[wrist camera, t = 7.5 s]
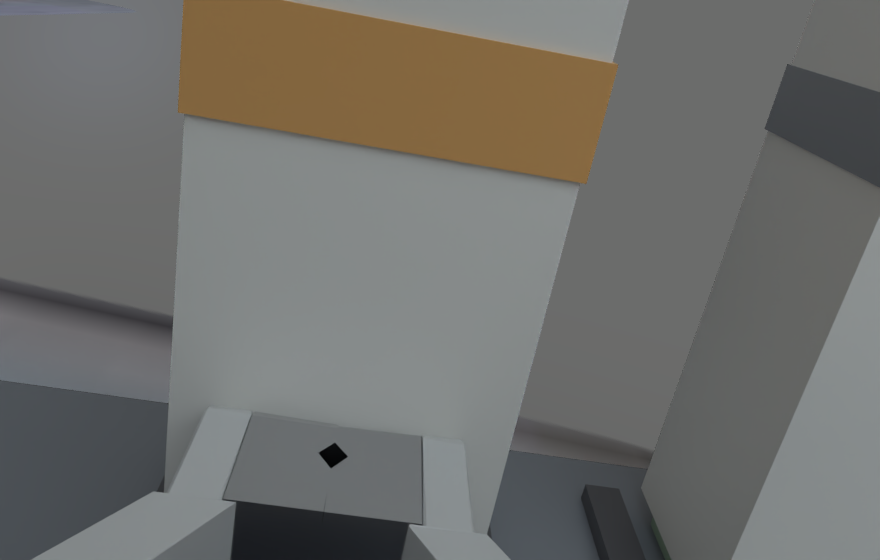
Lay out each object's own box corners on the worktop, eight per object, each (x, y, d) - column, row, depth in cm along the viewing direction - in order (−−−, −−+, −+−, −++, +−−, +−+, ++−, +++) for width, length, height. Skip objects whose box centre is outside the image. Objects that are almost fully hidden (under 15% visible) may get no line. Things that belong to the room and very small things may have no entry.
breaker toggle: (147, 709, 11) (193, -195, 6) (217, 511, 14) (275, -142, 10) (437, 738, 11) (661, -96, 7) (431, 537, 15) (572, -79, 11)
